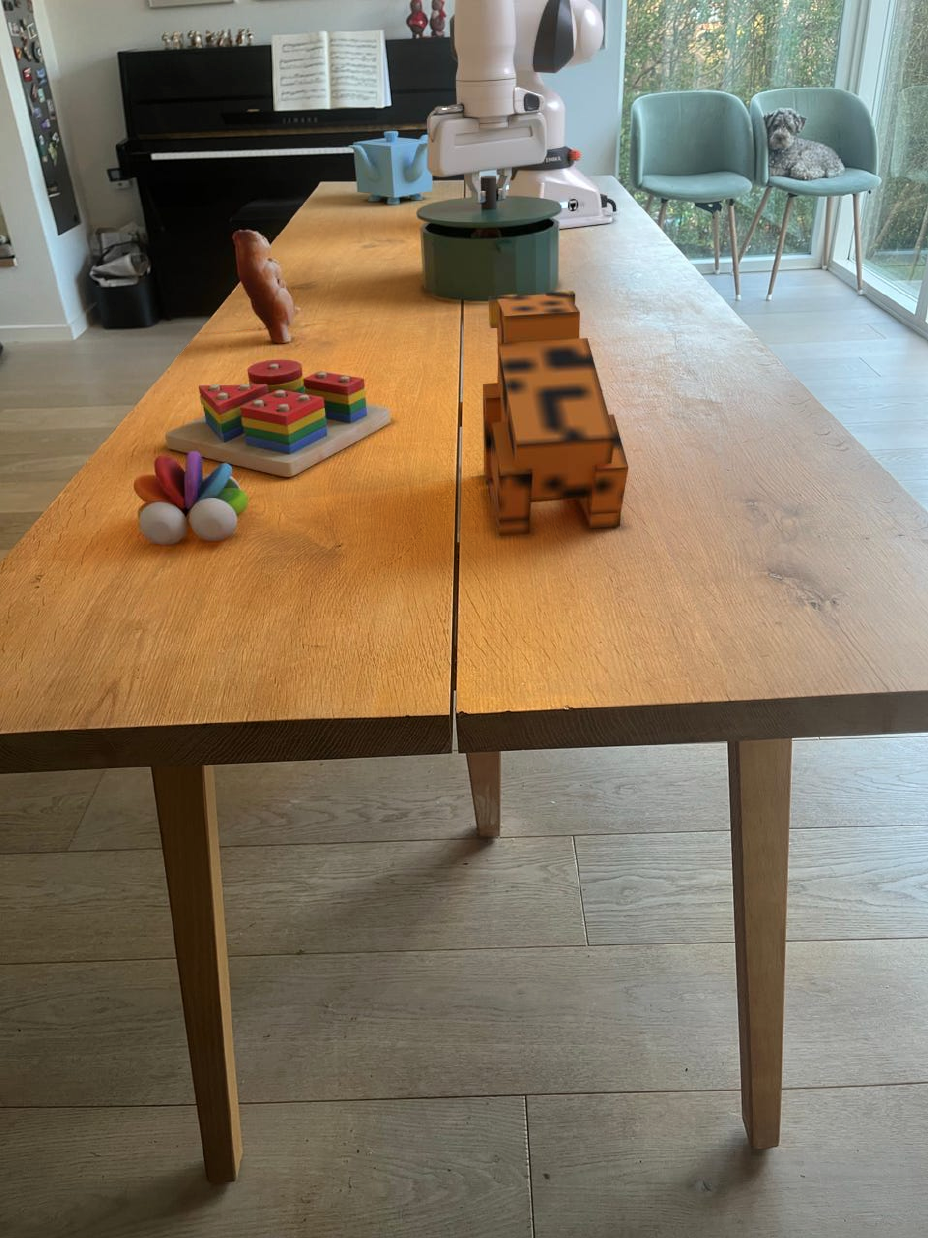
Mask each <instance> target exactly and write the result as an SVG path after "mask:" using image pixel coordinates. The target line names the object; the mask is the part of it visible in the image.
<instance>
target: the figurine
mask: <svg viewBox="0 0 928 1238" xmlns="http://www.w3.org/2000/svg"><path fill="white" fill-rule="evenodd" d="M232 240H233V244H234V245H235V258H236V267H237V275H238V279H239V281H240V283H241V285H242V287H243V290H244V291H245V293H246V295H247V297H248V298H249V300H250V304H251V309H252V310H253V312H254V314H255V316H257V317H258V319H259V321H261V322H262V324H263V325H264V327H265V328H266V330H267V331H268V336H269V338H270V340H271V342H273V343H275V344H285V343H290V342H291V341H292V335H291V333H289V331H288V328H289V327H290V326H291V324H292V322H293V320H294V319H295V318H296V317H297V315H298V314H299V313H300V312H301V311H302V308H301V307H297V306H294V303H293V302H294V301H293V298H292V296H291V294H290V293H289V291H288V289H286V288H287V282H286V281H285V280H284V279H282V277H283V276H282V268H281V266H280V264H279V262H278V260H277V259H275V258H272V257H270V258H269V256H270V253H271V249H272V247H271V244H270V243H269V241H268V239H267V238H266V237H265V236H263V235H262V234H261V233H259V231H256V230H255V231H253V230H251V229H244V230H242V229H239V230H237V231H235V232H234V233H233V235H232Z"/></svg>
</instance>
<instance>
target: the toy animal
mask: <svg viewBox="0 0 928 1238" xmlns="http://www.w3.org/2000/svg"><path fill="white" fill-rule="evenodd" d="M488 321H489V324H488V325H489V327H490V329H496V335H497V336H496V337H497V338H496V339H497V340H496V341H497V343H496V344H497V379H496V380H497V382H492V383H482V421H483V422H482V425H483V428H482V430H483V436H482V437H483V472H484V478H485V484H486V485H487V489H488V490H487V491H488V495H489V499H490V502H491V506H492V510H493V515H494V519H495V523H496V526H497V531H498V535H499V536H504V535H506V536H507V535H517V534H530V533H531V508H532V507H531V506H532V503H538V502H539V503H540V502H553V501H555V502H556V501H566V500H567V501H568V500H577V501H578V503H579V506H580V508H581V510H582V512H583V515H584V518H585V520H586V523H587V525H588V527H589V529H601V528H603V529H604V528H617V527H621V520H622V519H621V517H622V508H623V504H624V503H623V502H624V496H625V490H626V485H627V479H628V474H629V463H628V460H627V456H626V453H625V449H624V445H623V442H622V438H621V435H620V432H619V428H618V425H617V424H618V423H617V421H616V418H615V414H614V413H611V414H609V410H608V407H607V404H606V400H605V397H604V393H603V392H604V391H603V389H602V385H601V382H600V377H599V374H598V370H597V367H596V364H595V360H594V356H593V352H592V349H591V346H590V341H589V338H588V337H582V338H580V326H581V324H580V323H581V311H580V309H579V308H578V307H577V305H576V293H575V292H574V291H573V290H566V291H565V290H564V291H553V292H548V293H545V294H544V295H528V296H517V294H514V295H498V296H489V301H488Z"/></svg>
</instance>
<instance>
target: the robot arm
mask: <svg viewBox="0 0 928 1238" xmlns="http://www.w3.org/2000/svg"><path fill="white" fill-rule="evenodd" d="M604 29H605V27H604V22H603V17H602V15H601V13H600V10H599V9H598V8H597V6H596V5H595V4H594V3H593V2H591V1H589V0H454V14H453V15H452V16H451V18H449V41H450V42H449V43H450V46H449V47H450V56H451V57H452V58H453V59H454V60H455V62H457V70H456V75H455V90H456V91H455V92H456V94H455V95H456V104H450V105H439V106H436V107H435V108H434V110H432V111H431V112H430V113H429V114H428V116H427V119H426V128H427V129H426V131H427V132H426V133H427V135H428V141H427V169H428V171H429V172H430V173H431V175H432V177H437V178H447V177H453V176H464V177H463V178H464V179H463V180H464V182H465V184H466V186H467V187H468V189H469V191H470V197H471V200H472V203H473V204H482V203H485V201H486V199H485V196H486V195H485V191H481V187H480V185H479V184H478V181H480V173H482V172H483V173H484V172H488V171H496V176H498V179H497V180H496V195H497V201H502V200H505V198H506V196H525V197H536V198H544V199H549V200H553V201H556V202H558V203H560V204H561V205H562V211H561V213H560V214H558V215H556V216H554V217H551V218H554V219H556V220H557V221H558V222H559V230H562V229H572V228H578V227H587V226H595V225H603V224H610V223H612V222H613V215H612V213H616V212H617V211H618V210H617V204H616V202H615V201H614V200H613V199H611V198H608V195H606V194H603V193H601V192H600V190H599V188H598V186H597V185H596V184H595V183H594V182H593V181H591V179H589V178H588V177H587V176H586V175H585V174H584V173H582V172H581V171H580V170H579V169H577V168H576V167H575V166H573V165H574V164H575V162H579V161H580V159H582V152H581V151H580V150H578V149H576V148H574V149H571V148H570V147H568V146H567V145H566V105H565V103H564V100H562V97H561V96H559V94H557V93H556V92H555V91H554V90H552V89H550V88H548V87H547V86H546V85H545V83H544V82H543V80H542V76H541V73H542V74H557V73H558V72H559V71H561V70H562V69H563V68H570V67H575V66H579V65H582V64H586V63H590V62H592V61H593V60H594V59H595V57H597V55H598V53H599V51H600V49H601V47H602V44H603V41H604V40H603V39H604V34H605V33H604V32H605V31H604ZM506 190H507V192H506ZM506 193H507V194H506ZM608 204H609V205H611V207H612V213H611V212H610V211H608V210H605V209H606V208H608ZM604 208H605V209H604Z"/></svg>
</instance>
